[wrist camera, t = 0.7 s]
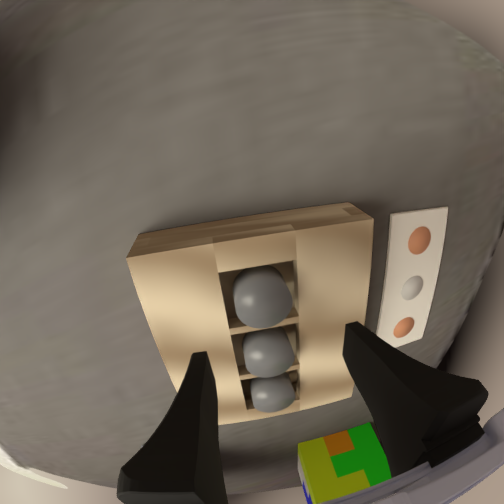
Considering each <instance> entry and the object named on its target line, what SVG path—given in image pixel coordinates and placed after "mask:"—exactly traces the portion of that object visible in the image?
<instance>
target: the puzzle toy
mask: <svg viewBox="0 0 504 504" xmlns="http://www.w3.org/2000/svg"><path fill="white" fill-rule="evenodd" d="M298 472H299V475H300V479H301V482H302V486H303V489H304V493H305V496H306V500H307V503H308V504H318V503H322V502H326V501H329V500H333V499H336V498H339V497H343V496H346V495H349V494H352V493H355V492H358V491H360V490H363V489H366V488H369V487H371V486H374V485H376V484H379V483H382V482H384V481H386V480H389V479H391V473H390V469H389V465H388V461H387V458H386V455H385V453H384V451H383V449H382V447H381V445H380V443H379V441H378V439H377V436H376V434H375V432H374V430H373V428H372V426H371V424H370V422H369V423H366V424H363V425H360V426H357V427H354V428H351V429H348V430H345V431H342V432H338V433H335V434H332V435H328V436H325V437H321V438H317V439H313V440H310V441H306V442H301V443H298Z"/></svg>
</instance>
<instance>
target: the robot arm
mask: <svg viewBox="0 0 504 504" xmlns="http://www.w3.org/2000/svg"><path fill="white" fill-rule="evenodd" d="M342 356H343V358H344V361H345V364H346V366H347V369H348V371H349V373H350V375H351V377H352V379H353V381H354V382H355V384H356V386H357V388H358V390H359V392H360V393H361V395H362V397H363V399H364V401H365V402H366V404H367V406H368V408H369V410H370V412H371V414H372V417H373V419H374V422H375V425H376V427H377V430H378V433H379V436H380V438H381V441H382V444H383V447H384V451H385V454H386V458H387V461H388V465H389V469H390V473H391V479H389V480H386V481H384V482H382V483H379V484H376V485H374V486H371V487H369V488H366V489H363V490H360V491H358V492H355V493H352V494H349V495H346V496H343V497H339V498H336V499H333V500H329V501H326V502H322V503H318V504H449V503H451V502H452V501H454V500H455V499H457V498H458V497H460V496H461V495H463V494H464V493H466V492H467V491H469V490H470V489H472V488H473V487H474V486H476V485H477V484H478V483H480V482H481V481H483V480H484V479H485V478H486V477H488V476H489V475H491V474H492V473H493V472H494V471H496V470H497V469H498V468H499V467H501V466H502V465H503V464H504V408H503V409H502V410H501V411H499V412H498V413H497V414H495V415H494V416H493V417H491V418H490V419H489V420H488V421H487V423H486V424H485V425H484V427H483V428H482V427H481V426H480V424H479V423H478V422H479V421H480V418H479V416H478V415H477V413H478V412H479V411H480V409H481V408H482V406H483V405H484V403H485V402H486V400H487V398H488V391H487V390H486V389H485V387H484V386H483V385H482V384H481V382H480V381H479V380H476V379H471V378H465V377H460V376H456V375H453V374H449V373H446V372H443V371H440V370H438V369H435V368H432V367H430V366H428V365H425V364H423V363H421V362H419V361H417V360H415V359H413V358H411V357H409V356H407V355H406V354H404V353H402V352H401V351H399V350H397V349H396V348H394V347H393V346H391V345H390V344H388V343H387V342H385V341H384V340H382V339H381V338H380V337H378V336H377V335H376V334H374V333H373V332H371V331H370V330H369V329H367V328H366V327H365V326H363V325H362V324H361V323H359V322H358V321H355V322H351V323H347V324H345V334H344V343H343V352H342ZM395 493H396V494H395ZM390 495H391V496H390ZM117 498H118V499H119V500H121V502H123V503H124V504H228V500H227V495H226V489H225V484H224V478H223V472H222V466H221V459H220V452H219V441H218V397H217V388H216V381H215V377H214V374H213V371H212V367H211V364H210V360H209V357H208V354H207V351H202V352H195V353H193V354H192V355H191V358H190V362H189V365H188V368H187V371H186V373H185V376H184V379H183V381H182V383H181V386H180V388H179V391H178V393H177V395H176V397H175V399H174V401H173V403H172V405H171V407H170V408H169V410H168V412H167V414H166V415H165V417H164V419H163V420H162V422H161V423H160V425H159V426H158V428H157V429H156V430H155V432H154V433H153V435H152V436H151V437H150V438H149V440H148V441H147V442H146V443H145V444H144V445H143V446H141V449H140V450H139V451H138V452H137V453H136V454H135V455H134V456H133V457H132V458H131V459H130V460H129V461H128V462H127V463H126V464H125V465H124V466H123V467H121V470H120V474H119V478H118V485H117ZM383 498H384V499H383ZM378 500H379V501H378ZM373 502H374V503H373Z"/></svg>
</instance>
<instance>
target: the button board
mask: <svg viewBox="0 0 504 504" xmlns="http://www.w3.org/2000/svg"><path fill="white" fill-rule="evenodd" d="M373 226H374V219H373V218H372V217H370V216H369V215H367V214H366V213H364V212H363V211H361V210H360V209H358V208H357V207H355V206H354V205H352V204H351V203H349V202H346V203H338V204H330V205H322V206H314V207H307V208H299V209H292V210H285V211H278V212H271V213H264V214H257V215H250V216H244V217H237V218H231V219H225V220H218V221H212V222H206V223H200V224H194V225H188V226H182V227H176V228H171V229H165V230H159V231H154V232H148V233H143V234H139V235H138V236H137V238H136V240H135V242H134V244H133V246H132V248H131V250H130V252H129V253H128V255H127V257H126V259H127V262H128V266H129V269H130V272H131V275H132V278H133V281H134V284H135V287H136V290H137V293H138V296H139V299H140V302H141V305H142V307H143V310H144V313H145V316H146V318H147V321H148V324H149V326H150V329H151V332H152V334H153V337H154V339H155V342H156V344H157V347H158V349H159V352H160V354H161V357H162V359H163V361H164V364H165V366H166V368H167V371H168V373H169V375H170V377H171V380H172V382H173V384H174V386H175V388H176V391H177V393H178V391H179V388H180V386H181V383H182V381H183V379H184V376H185V373H186V371H187V368H188V365H189V362H190V358H191V355H192V354H193V353H195V352H202V351H207V354H208V357H209V360H210V364H211V367H212V371H213V374H214V377H215V381H216V388H217V397H218V425H222V424H230V423H237V422H243V421H249V420H255V419H261V418H267V417H272V416H277V415H282V414H287V413H291V412H296V411H300V410H304V409H308V408H312V407H316V406H320V405H324V404H328V403H331V402H335V401H339V400H342V399H345V398H349V397H351V396H352V391H353V386H354V381H353V379H352V377H351V375H350V373H349V371H348V369H347V366H346V364H345V361H344V358H343V356H342V352H343V343H344V334H345V324H347V323H351V322H355V321H358V322H359V323H361V324H362V325H363V326H364V323H365V315H366V308H367V299H368V291H369V281H370V270H371V258H372V244H373ZM262 265H270V266H273V267H274V268H276V269H277V270H278V271H279V272H280V273H281V274H282V276H283V278H284V280H285V282H286V285H287V287H288V289H289V291H290V293H291V295H292V300H293V304H292V308H291V311H290V313H289V314H288V316H287V317H286V318H285V319H284V320H283V321H282V322H280V323H279V324H277V325H275V326H272V327H269V328H273V327H278V326H280V327H282V328H283V329H284V330H285V331H286V333H287V336H288V338H289V341H290V344H291V346H292V349H293V352H294V355H295V359H294V362H293V364H292V366H291V367H290V368H289V369H288V370H287V371H285V372H287V373H288V374H289V377H290V380H291V383H292V386H293V389H294V392H295V400H294V402H293V403H292V404H291V405H290V406H289V407H287V408H285V409H283V410H281V411H277V412H271V413H266V412H261V411H258V410H257V409H256V408H255V407H254V405H253V400H252V395H251V390H250V380H251V378H256V377H257V376H254V375H252V374H251V373H250V372H249V371H248V370H247V368H246V364H245V359H244V353H243V347H242V340H243V337H244V335H245V334H246V333H247V332H251V331H256V330H262V329H267V328H262V329H259V328H252V327H249V326H247V325H245V324H244V323H243V322H241V320H240V319H239V318H238V316H237V314H236V309H235V303H234V297H233V290H232V287H233V282H234V280H235V278H236V276H237V275H238V274H239V273H240V272H241V271H242V270H243V269H245V268H250V267H256V266H262Z"/></svg>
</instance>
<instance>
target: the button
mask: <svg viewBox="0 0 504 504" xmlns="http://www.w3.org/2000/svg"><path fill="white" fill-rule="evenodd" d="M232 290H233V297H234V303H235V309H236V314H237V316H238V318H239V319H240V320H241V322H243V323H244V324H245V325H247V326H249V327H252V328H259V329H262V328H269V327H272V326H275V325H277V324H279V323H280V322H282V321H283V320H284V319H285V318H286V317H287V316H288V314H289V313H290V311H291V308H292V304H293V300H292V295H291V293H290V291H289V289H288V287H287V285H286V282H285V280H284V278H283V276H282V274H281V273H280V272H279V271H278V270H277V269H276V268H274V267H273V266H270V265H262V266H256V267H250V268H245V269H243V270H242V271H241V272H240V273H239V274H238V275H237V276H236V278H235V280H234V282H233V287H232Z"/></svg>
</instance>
